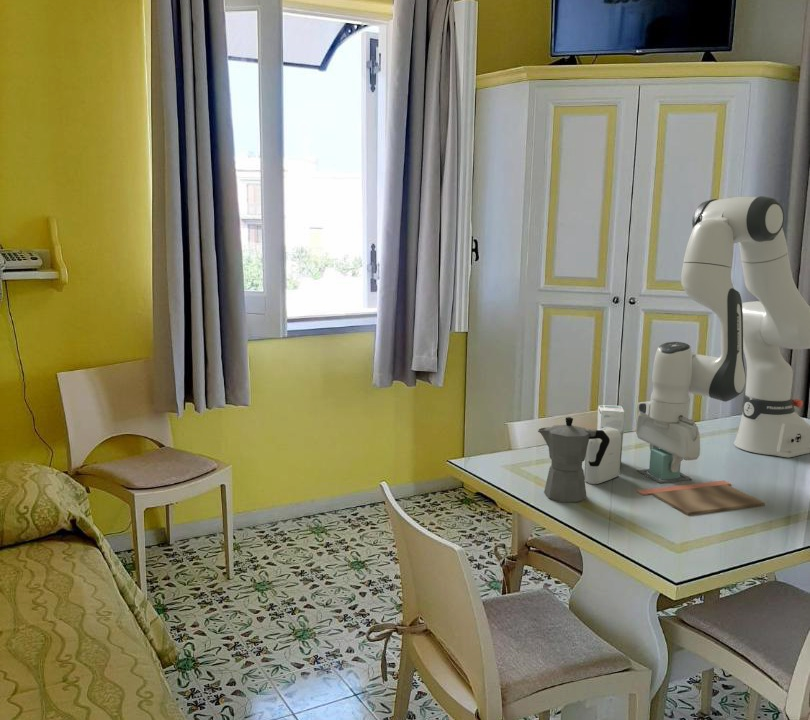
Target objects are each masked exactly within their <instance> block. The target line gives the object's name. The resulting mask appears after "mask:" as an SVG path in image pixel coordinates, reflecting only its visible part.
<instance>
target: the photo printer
mask: <svg viewBox="0 0 810 720" xmlns="http://www.w3.org/2000/svg"><path fill="white" fill-rule="evenodd" d="M599 430H602V431H604V432H605V433H606V435H607V436H608V437H609V439H610V442H609V445H608V447H607V449H606V451H605V453H604V456H603V458H602V460H601V462H600V465H599V466H590V464H589V462H594V461H595V460H596V454H597V452H598V451H599V446H600V443H601V442H602V440H601V439H600V438H597V439H589V442H588V446H587V451H586V456H585V460H584V479H585V483H587V482H588V483H587V484H590V483H591V484H590V485H598V484H601V483H604V482H607V481H609V480H612V479H615V478H616V477H619V475H620V469H621V468H620V467H621V466H620V455H621V433H620V432H619V430H617V429H614V428H610V427H606V428H601V429H599ZM621 456H622V455H621Z"/></svg>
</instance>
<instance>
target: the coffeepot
mask: <svg viewBox="0 0 810 720" xmlns="http://www.w3.org/2000/svg"><path fill="white" fill-rule="evenodd" d="M573 421H574V418H573V417H570V416H568V417H567V416H566V417H565V424H560V425H559V424H557V425H553V426H550V427H549V426H547V427H541V428H539V429H538V430H537V432H538V433H539V434H540V435H541V436H542V437H543V439H544V442H545V443H546V445H547V447H548V452H549V453H548V455H549V456H548V457H549V459H550V460H551V463H550V466H549V469H548V472H547V473H548V474H547V478H546V482H545V485H544V486H545V487H544V491H543V493H544V494H545V495H544V496H546V497H547V498H548V499H549V500H552V501H554V502H555V501H556V502H559V503H569V504H570V503H580V502H582V501H584V500H585V498H586V497H587V490H586V488H587V487H586V481H585V479H584V471H585V469H583V462H585V456H586V451H587V446H588V442H589V439H597V438H600V439H601V440H602V442H601V443H600V446H599V451H598V452H597V454H596V460H595V461H594V462H589V464H590V466H599V465H600V462H601V460H602V458H603V456H604V453H605V451H606V449H607V447H608V445H609V442H610V439H609V437H608V436H607V435H606V433H605V432H604V431H602V430H597V429H587V428H586V427H582V426H577V425H573ZM583 499H584V500H583Z"/></svg>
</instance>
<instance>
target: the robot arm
mask: <svg viewBox="0 0 810 720" xmlns="http://www.w3.org/2000/svg"><path fill="white" fill-rule="evenodd" d="M691 222H692V223H691V224H692V229H691V233H690V236H689V239H688V241H687V244H686V248H685V251H684V252H685V253H684V257H683V260H682V261H683V263H682V268H681V273H680V275H681V277H680V281H681V282H680V284H681V286H682V289H683V291H684V292H685V294H686V295H687V296H688V297H689V298H690V299H691V300H693V301H694V302H696V303H698V304H700V305H701V306H704V307H705V308H707V309H709V310H711V311H712V312H713V313H714V314H716V316H717V318H718V319H719V322H720V355H719V356H711V355H706V354H705V355H704V354H700V353H695V352H693V351H692V347H691V346H690V345H689V344H688V343H686V342H681V341H671V342H670V341H669V342H663V343H661V344H660V345H658V347H657V349H656V352H655V355H654V360H653V365H652V366H653V367H652V375H651V376H652V377H651V382H652V391H651V394H650V400H649V401H640V402H637V405H636V410H637V414H636V421H635V423H636V424H635V434H636V437H637V438H638V439H639V440H641V441H644V442H646V443H648V444H649V449H650V451H651V449H662V450H665V451H667V452H669V453H671V454H672V458H673V461H672V463H669V468H668V469H669V470H670V471H672V472H678V469H679V464H680V463H682V461H683V460H685V461H695V460H698V459H699V458H700V454H701V436H700V431H699V427H698V426H697V424H696V421H694V420H693V419H690V418H689V415H690V414H689V413H690V403H691V402H690V401H691V397H690V394H693V395H697V396H703V397H707V398H711V399H713V400H714V399H715V400H719V401H721V402H724V403H725V402H730V401H731V400H733V399H735V398H737V397H739V396H740V395H741V394H742V393H743V392H745V393H743V396H742V405H741V406H742V413H741V417H740V418H741V419H740V422H739V427H738V430H737V433H736V436H735V439H734V442H733V445H734V446H735V447H737V448H738V449H740V450H743V451H746V452H750V453H755V454H760V455H768V456H769V455H770V456H777V457H782V458H792V457H798V456H801V455H802V456H803V455H806V454H810V424H809V423H808V422H807V421H806V420H804V419H803V418H802V417H801V416H800V415H799V414H798V413H797V412H795V410H796V409H795V407H796V408H802V407H803V406H804V401H803V400H801V399H798V398H794V399H793V398H792V397H791V396H792V395H791V394H792V387H793V377H794V371H793V368H792V366H791V365H790V363H788V361H786V360H785V359H784V357H783V355H782V353H781V348H783V349H788V350H808V349H809V350H810V305H809V304H808V303H807V302H806V300H805V299H804V297H803V296H802V295H801V292H800V291H799V289H798V288H797V285H796V283H795V280H794V277H793V273H792V267H791V263H790V257H789V249H788V244H787V240H786V239H787V238H786V236H785V232H784V228H783V226H784V224H785V223H784V222H785V213H784V209H783V207H782V205H781V204H780V203H779V202H778V200H777V199H775V198H773V197H768V196H761V195H760V196H746V195H745V196H744V195H743V196H734V197H728V198H720V199H717V198H714V199H709V200H705V201H703V202H701V203H700V204H699V205H698V206H697V208H696V209H695V211H694V213H693V215H692V221H691ZM736 243H737V244H739V255H740V261H741V267H742V274H743V279H744V280H743V282H744V286H745V287H746V289H747V291H748V292H749V293H750V294H751V295H753V296H754V297H755V298H756V299H757V300H758V301H757V300H756V301H747V302H746V301H745V302H743V301H742V296H741V293H740V292H739V291H738V290H737V289H735V287H734V285H733V281H732V267H733V262H734V259H733V258H734V245H735V244H736ZM744 357H745V361H746V367H745V361H744ZM744 389H745V391H744Z"/></svg>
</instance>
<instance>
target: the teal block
mask: <svg viewBox="0 0 810 720" xmlns="http://www.w3.org/2000/svg"><path fill="white" fill-rule="evenodd" d="M672 461H673V458H672V454H671V453H669V452H667V451H665V450H662V449H660V448H659V449H651V450H650V455H649V466H648V467H649V468H648V469H649V472H648V474H649V473H650V475H651V474H652V476H653V475H654V477H655V476H656V477H655V478H657V477H658V478H657V479H659V478H660V479H659V480H668V479H677V478H681V476H680V473H681V463H682V462H681V463H680V464H679V469H678V472H672V471H670V470H669V469H668V468H669V463H672Z"/></svg>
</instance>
